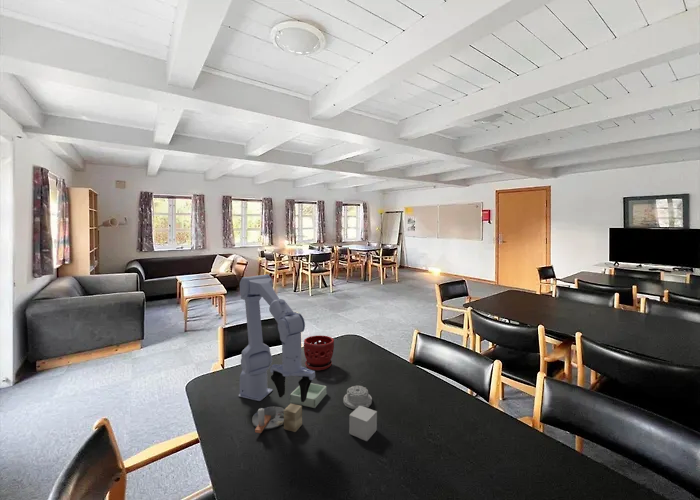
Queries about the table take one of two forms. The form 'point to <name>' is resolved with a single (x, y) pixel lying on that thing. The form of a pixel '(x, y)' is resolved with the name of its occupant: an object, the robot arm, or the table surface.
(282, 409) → the dial plate
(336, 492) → the table surface
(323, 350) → the plant pot
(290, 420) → the brown block
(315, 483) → the table surface
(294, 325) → the robot arm
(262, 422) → the crank
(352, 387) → the mechanical component
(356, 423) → the light grey cube
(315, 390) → the tray
